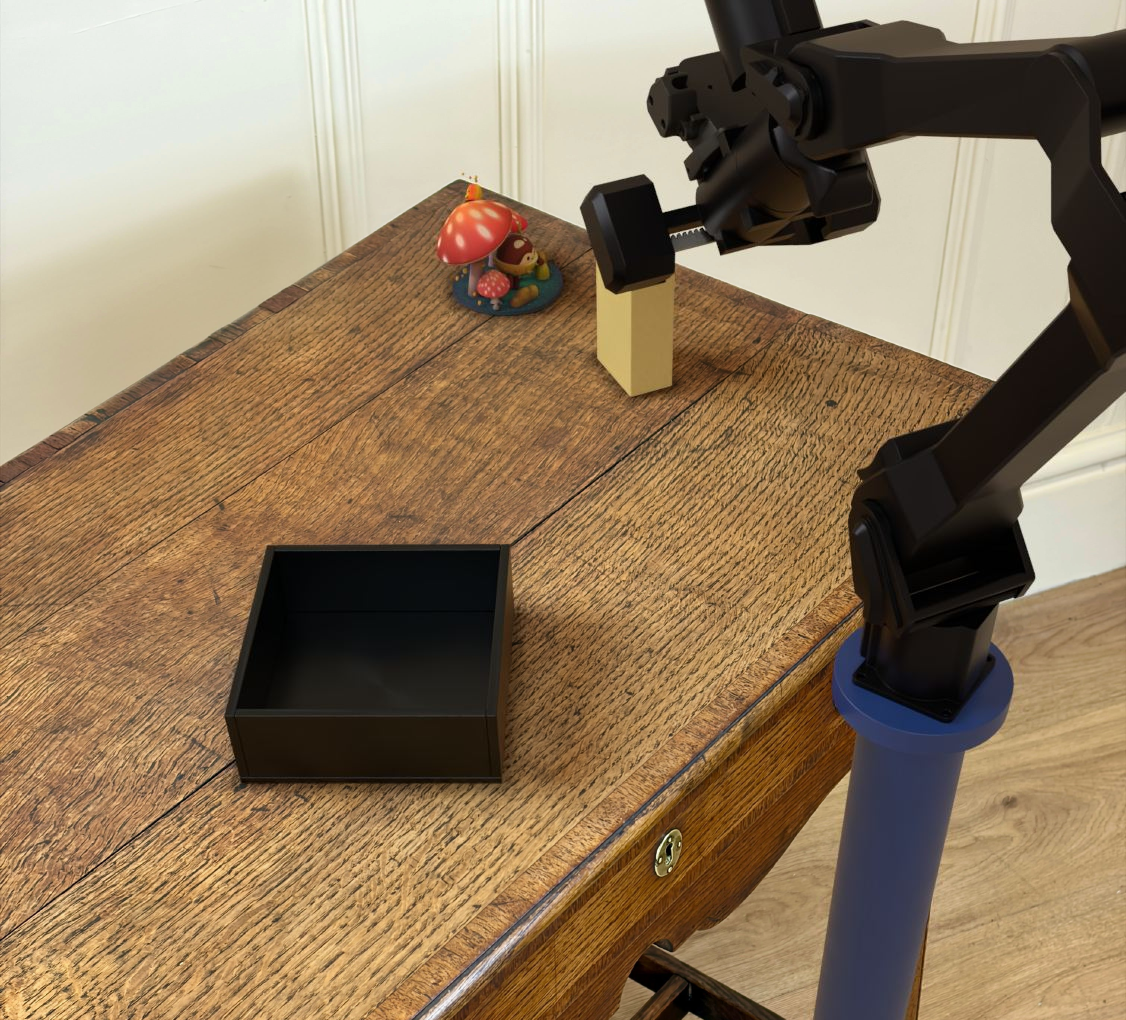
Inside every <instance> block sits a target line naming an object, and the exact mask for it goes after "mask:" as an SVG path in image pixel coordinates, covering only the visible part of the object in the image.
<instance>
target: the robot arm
mask: <svg viewBox="0 0 1126 1020" xmlns="http://www.w3.org/2000/svg"><path fill="white" fill-rule="evenodd" d="M703 2H704V6H705V9H706V11H707V15H708V18H709V21H710V24H711V27H712V31H713V34H714V37H715V41H716V44H717V48H718V51H713V52H708V53H703V54H700V55H694V56H690V57H686V58H684V59H682V60H681V61H680V62H679V64H678V65H675V66H669V67H666V68H665V71H664V73H663V75H662V76H659V77H656V78H655V79H654V83H652V84H651V86H650V88H649V91H648V94H647V98H646V102H645V103H646V110H647V113H648V114H649V117H650V119H651V120H652V122H653V124H654V126H655V129H656V130H657V133H658V134H659V136H660V138H661V137H662V138H663V139H668V138H671V137H679V138H680V140H681V142H686V144H687V145H688V147H689V148H690V149H691V152H690V153H689V155H688V156H687V157H686V158H685V159H684V160H683V165H684V168H685V172H686V175H687V177H688V181H689V182H693V181H696V183H697V187H696V189H695V198H694V199H695V204H691V205H687V206H683V207H679V208H675V209H671V210H666V211H663V208H662V206H661V203H660V199H659V195H658V193H657V190H656V187H655V183H654V181H652V180H651V178H649V177H648V176H647V175H646V174H645V173H641V174H637V175H633V176H629V177H625V178H620V179H617V180H612V181H608V182H603V183H600V184H599V183H598V184H596V185H595V184H594V185H593V186H592V187H591V188H590V190H589V191H588V193H587V194H586V195H585V196H584V197H583V200H582V202H581V204H580V206H579V210H580V213H581V217H582V220H583V223H584V226H585V229H586V233H587V236H588V239H589V242H590V245H591V248H592V252H593V255H594V258H595V262H596V261H597V265H598V268H599V271H600V274H601V277H602V280H603V284H604V287H605V289H607V290H609V291H610V292H612V293H614V294H615V295H617V294H621V293H625V292H629V291H635V290H639V289H642V288H646V287H650V286H654V285H658V284H662V283H665V282H666V279H668V278H670V277H671V276H672V275H673V274H674V273H675V274H676V253H679V252H683V251H687V250H691V249H694V248H698V247H702V246H705V245H706V246H707V245H711V244H714V243H716V248H717V250H718V253H719V256H720V257H722V256H727V255H729V254H733V253H736V252H741V251H746V250H749V249H753V248H756V247H757V248H758V247H780V246H782V247H783V246H787V247H788V246H813V245H815V244H820V243H824V242H827V241H831V240H836V239H838V238H839V239H840V238H842V237H845V236H849V235H853V234H856V233H861V232H864V231H865V230H867V229H868V228H870V226H872V225H873V224H875V223H876V222H877V220H878V217H879V216H880V213H881V206H882V197H881V194H880V193H881V192H880V190H879V187H878V184H877V180H876V176H875V174H874V170H873V168H872V164H871V160H870V157H869V154H868V151H867V149H871V148H875V147H879V146H883V145H888V144H892V143H895V142H900V141H905V140H908V139H911V138H912V139H913V138H916V137H930V138H931V137H933V138H959V139H960V138H964V139H968V138H969V139H994V140H995V139H996V140H997V139H998V140H1025V141H1026V140H1029V141H1037V143H1038V144H1039V145H1040V147H1041V149H1042V150H1043V152H1044V154H1045V155H1046V157H1047V158H1048V160H1049V163H1050V224H1051V227H1052V230H1053V232H1054V233H1055V235H1056V237H1057V238H1058V240H1059V241H1060V243H1061V245H1062V247H1063V248H1064V249H1065V251H1066V253H1067V255H1068V256H1069V257H1070V259H1069V262H1068V264H1067V267H1066V272H1067V273H1066V274H1067V284H1068V292H1069V294H1068V295H1069V301H1068V302H1067V304H1066V305H1065V306H1064V307H1063V309H1061V311H1059V313H1058V314H1057V315H1056V316H1055V317H1054V318H1053V319H1052V320H1051V321H1050V323H1049V324H1047V325H1046V327H1044V329H1043V330H1042V331H1041V332H1040V333H1039V334H1038V335H1037V337H1035V338H1034V340H1033V341H1031V343H1030V344H1029V345H1028V346H1027V347H1026V348H1025V349H1024V350H1023V352H1022V353H1020V354H1019V356H1018V357H1017V358H1016V359H1015V360H1014V361H1013V362H1012V363H1011V364H1010V365H1009V366H1008V368H1006V369H1005V371H1003V373H1002V374H1001V375H1000V376H999V377H998V378H997V379H996V380H995V381H994V382H993V384H992V385H990V387H989V388H988V389H987V390H986V391H985V392H984V393H983V394H982V395H981V396H980V398H978V400H976V402H975V403H974V404H973V405H972V406H971V407H970V408H969V409H968V410H967V412H966V413H964V414H963V416H960V417H957V418H954V419H950V420H947V421H943V422H940V423H936V424H934V425H930V426H927V427H923V428H920V429H917V430H914V431H911V432H910V431H909V432H907V433H904V434H900V435H897V436H894V437H890V438H888V439H887V440H886V441H885V442H884V443H883V444H882V445H881V446H880V447H879V448H878V450H877V451H876V453H875V455H874V457H873V459H872V461H871V462H870V464H868V465H867V466H865V467H862V468H859V469H857V470H856V475H857V477H858V478H859V479H860V480H861V482H859V483H858V484H857V486H856V488H855V490H854V492H853V493H852V494H853V495H852V497H851V502H850V507H851V508H850V510H849V513H848V518H847V529H848V541H849V553H850V564H851V566H850V567H851V575H852V583H853V591H854V593H855V595H856V596H857V597H858V598H859V599H860V600H861V602H862V603H863V604H862V606H863V608H862V615H861V617H862V618H863V624H862V627H863V631H862V637H861V644H860V651H859V652H860V655H861V657H864V658H866V659H865V660H864V661H863V662H862V664H861V665H860V666H859V667H858V668H857V669H856V671H855V672H854V673H853V676H852V683H853V684H854V685H856V686H858V687H860V688H862V689H865V690H867V691H869V692H872V693H874V694H876V695H879V696H881V697H883V698H886V699H888V700H890V701H893V702H895V703H897V704H899V705H902V706H904V707H906V708H909V709H911V710H913V711H916V712H918V713H920V714H923V715H925V716H927V717H930V718H932V719H934V720H937V721H939V722H941V723H951V722H952V721H954V719H955V718H956V717H957V715H958V714H959V713H960V711H961V710H962V709H963V707H964V706H965V705H966V703H967V702H968V701H969V699H970V698H971V697H972V695H973V694H974V693H975V692H976V690H977V689H978V688H979V686H980V685H981V684H982V682H983V681H984V680H985V678H986V677H987V676H988V674H989V673H990V672H991V670H992V669H993V668H994V666H995V662H996V658H995V657H994V656H993V655H991V654H989V653H988V652H989V647H990V643H991V642H992V638H993V634H994V629H995V625H996V622H997V621H996V620H997V617H998V612H999V607H1000V603H1002V602H1005V601H1008V600H1011V599H1019V598H1023V597H1024V596H1025V595H1026V594H1027V592H1028V591H1029V590H1030V588H1031V586H1032V585H1033V583H1034V582H1035V581H1036V578H1037V577H1036V573H1035V572H1036V571H1035V569H1034V566H1033V562H1032V558H1031V556H1030V553H1029V550H1028V547H1027V543H1026V540H1025V537H1024V533H1023V531H1022V528H1021V524H1020V521H1019V517H1020V515H1021V514H1022V513H1023V510H1024V508H1025V507H1024V506H1025V505H1024V500H1023V496H1022V491H1021V488H1022V487H1023V485H1024V484H1026V482H1027V481H1029V480H1030V479H1031V478H1032V477H1033V476H1034V475H1035V474H1036V473H1038V471H1040V470H1041V469H1042V468H1043V467H1044V466H1045V465H1046V464H1047V463H1049V462H1050V461H1051V460H1052V459H1053V458H1054V457H1055V456H1057V454H1059V453H1060V451H1062V450H1063V449H1064V448H1065V447H1066V446H1068V444H1069V443H1071V442H1072V441H1073V440H1074V439H1075V438H1076V437H1077V436H1079V434H1081V433H1082V432H1083V431H1084V430H1085V429H1086V428H1088V426H1089V425H1091V424H1092V423H1093V422H1094V421H1095V420H1096V419H1097V418H1099V416H1100V415H1102V414H1103V413H1104V412H1105V411H1106V410H1107V409H1109V407H1111V406H1112V405H1113V404H1114V403H1116V401H1117V400H1119V399H1120V397H1122V396H1123V395H1124V394H1125V393H1126V190H1125V191H1124V190H1123V191H1121V192H1120V191H1119V190H1118V187H1117V186H1116V185H1115V183H1114V181H1113V180H1112V178H1111V177H1110V175H1109V173H1108V172H1107V170H1106V169H1105V168H1104V166H1103V161H1102V160H1103V159H1102V157H1103V156H1102V138H1106V137H1110V136H1114V135H1118V134H1122V133H1126V28H1122V29H1117V30H1113V31H1109V32H1105V33H1100V34H1096V35H1086V36H1070V37H1053V38H1052V37H1051V38H1034V39H1016V40H999V41H997V40H995V41H981V42H963V43H962V42H960V43H959V42H954V41H951V40H948V39H947V38H946V35H945V32H943V31H942V30H941V29H940V28H938V27H933V26H929V25H926V24H922V23H918V22H913V21H910V20H904V19H902V20H896V21H892V22H887V23H882V24H880V23H878V22H875V21H873V20H871V19H867V18H865V19H861V20H856V21H851V22H850V21H849V22H846V23H841V24H837V25H831V26H828V27H824V24H823V20H822V17H821V13H820V11H819V8H818V4H817V1H816V0H703ZM698 228H699V229H698ZM693 229H694V230H693ZM686 231H687V232H686ZM681 232H682V233H681ZM675 234H676V235H675ZM986 661H988V662H986ZM859 678H862V679H859ZM944 714H946V715H948V716H946V715H944Z"/></svg>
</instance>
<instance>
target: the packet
mask: <svg viewBox="0 0 1126 1020" xmlns="http://www.w3.org/2000/svg"><path fill="white" fill-rule="evenodd" d="M595 274H596V277H595V279H596V281H595V282H596V286H595V287H596V343H597V344H596V352H597V353H596V354H597V356H596V357H597V360H598V361H599V362H600V364H601V365H602V366H603V367H604V368H605V369H606V370H607V372H608V373H609V374H610V375H611V377H613V379H614V380H615V381H616V382H617V384H619V385H620V387H621V388H622V390H624V391H625V392H626V394H627V395H628V396H629V397H630V398H632V397H637V396H641V395H645V394H648V393H651V392H655V391H659V390H662V389H665V388H669V387H672V386H673V359H674V358H673V357H674V323H675V322H674V320H675V319H674V318H675V285H676V284H675V283H676V279H675V278H676V272H675V273H674V274H673V275H672V276H671V277H670V278H668V279H666V282H665V283H662V284H658V285H654V286H650V287H646V288H642V289H639V290H635V291H629V292H625V293H621V294H617V295H615V294H614V293H612V292H610V291H609V290H607V289H605V287H604V284H603V280H602V277H601V274H600V271H599V268H598V265H597V261H596V260H595Z"/></svg>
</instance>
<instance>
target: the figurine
mask: <svg viewBox="0 0 1126 1020" xmlns="http://www.w3.org/2000/svg"><path fill="white" fill-rule="evenodd" d="M461 176H465V172H461ZM468 179H469V180H471V179H473V180H474V183H472V184H470V185H469V186H468V187H467V190H466V194H465V195H464V198H465V201H464V202H463V203H460V204H459V205H457V206H456V207H455V208H454V210H453V211H452V212H451V213H450V214H449V216H447V219H446V220H445V222H444V224H443V225H442V227H441V230H440V232H439V234H438V237H437V242H436V254H437V258H438V260H440V262H441V263H443V264H444V265H449V266H464V265H465V266H464V267H463V268H462V269H461V270H460V271H458V273H457V274H456V276H455V277H454V279H453V282H452V288H451V289H452V295H453V298H454V300H455V301H456V302H457V304H458V305H461V306H462V307H463V308H465V309H467V310H470V311H472V312H473V311H474V312H476V313H480V314H485V315H492V316H521V315H527V314H531V313H535V312H538V311H540V310H543V309H545V308H547V307H548V306H550V305H551V304H553V303H554V301H556V300H557V299H558V298H559V297H560V296H561V295H560V294H561V293H562V291H563V288H564V277H563V274H562V272H561V270H560V269H559V268H558V267H557V266H556V265H554V264H552V263H551V262H548V260H547V257H546V254H545V252H544V251H542V250H540V249H538V250H537V251H536V250H535V247H534V244H533V242H532V241H531V240H530V239H529V238H527V237H526V236H523V233H524V232H525V231H526V230H527V229H528V228H529V222H528V221H527V220H526V218H524V217H523V216H522V215H521V214H519V213H518V212H516V211H515V210H514V209H512V208H510V207H509V206H508V205H506V204H504V203H502V202H500V201H496V200H490V199H483V189H482V187H481V185H480V184H477V183H478V175H477V174H474V176H473V178H472V176H471V175H470V176H468Z"/></svg>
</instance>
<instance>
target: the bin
mask: <svg viewBox="0 0 1126 1020" xmlns="http://www.w3.org/2000/svg"><path fill="white" fill-rule="evenodd" d="M261 563H262V564H261V567H260V571H259V575H258V579H257V583H256V587H255V591H254V595H253V599H252V603H251V607H250V611H249V615H248V618H247V623H246V627H245V631H244V635H243V638H242V643H241V646H240V651H239V655H238V659H237V662H236V667H235V671H234V675H233V679H232V682H231V687H230V691H229V695H228V698H227V702H226V707H225V710H224V714H223V717H224V721H225V725H226V729H227V733H228V736H229V741H230V745H231V750H232V754H233V757H234V761H235V765H236V769H237V773H238V776H239V780H240V783H241V784H502V783H503V777H504V763H505V761H504V760H505V749H506V748H505V747H506V736H507V735H506V733H507V721H508V709H509V708H508V707H509V694H510V693H509V691H510V681H511V680H510V679H511V666H512V665H511V664H512V652H513V651H512V650H513V639H514V625H515V623H514V622H515V612H516V611H515V597H514V580H513V567H512V549H511V544H510V543H438V544H437V543H420V544H419V543H415V544H413V543H412V544H411V543H410V544H407V543H405V544H403V543H402V544H401V543H399V544H398V543H397V544H395V543H394V544H393V543H391V544H381V543H380V544H267V545H266V546H265V551H264V555H263V559H262V562H261Z"/></svg>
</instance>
